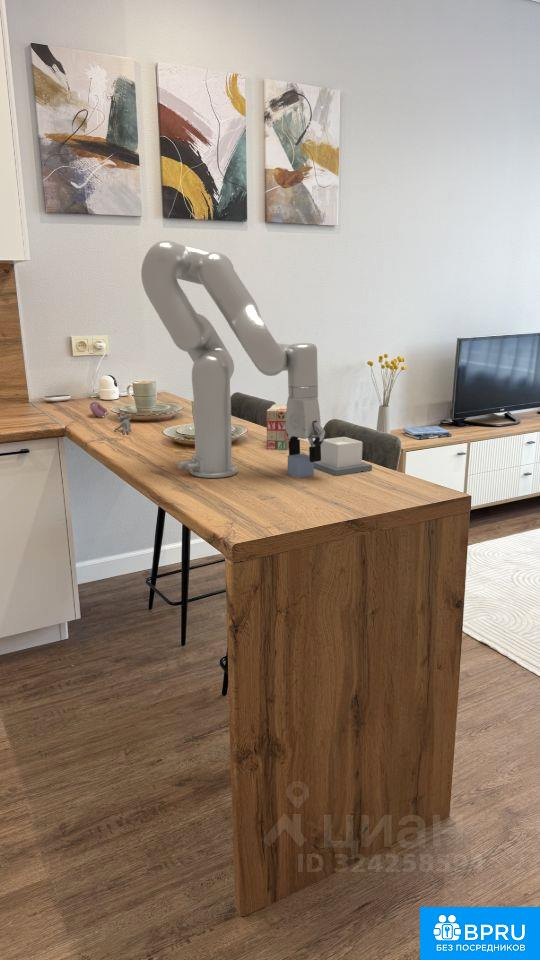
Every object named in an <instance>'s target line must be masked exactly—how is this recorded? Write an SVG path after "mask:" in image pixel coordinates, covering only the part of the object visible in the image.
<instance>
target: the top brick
mask: <svg viewBox="0 0 540 960" xmlns="http://www.w3.org/2000/svg"><path fill="white" fill-rule="evenodd" d="M287 475H290V476H293V477H295V478H297V479H298V478H305V477H313V476H315V468H314V462H310V458H309V454H306V453H300V454H296V455H289V454H288V455H287Z"/></svg>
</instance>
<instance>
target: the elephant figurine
mask: <svg viewBox="0 0 540 960" xmlns="http://www.w3.org/2000/svg"><path fill="white" fill-rule="evenodd" d="M136 416H137V413H136V412H134V413H131V416H130V417H128V413H126V414H124V415H121V414H120V416H118V417H117V419H118V423H121V424H120V425H119V426H118V427H117V428H116V427H114V430H113V431H114V432H116V431H115V430H118V431H119V429H120V428H121V429H122V434H123V435H124V433H127V432H128V433H130V432H131V431H132V428H131V423H130V422H131V421H132V419H133V418H134V417H136ZM127 417H128V418H127ZM128 433H127V434H128Z"/></svg>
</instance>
